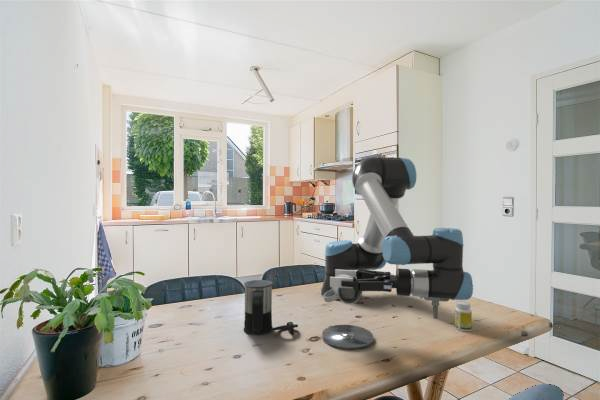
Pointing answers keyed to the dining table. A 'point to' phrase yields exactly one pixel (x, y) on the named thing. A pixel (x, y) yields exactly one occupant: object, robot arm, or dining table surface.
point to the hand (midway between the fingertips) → (332, 277)
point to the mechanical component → (435, 304)
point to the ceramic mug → (343, 293)
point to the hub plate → (347, 337)
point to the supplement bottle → (463, 316)
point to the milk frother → (260, 308)
